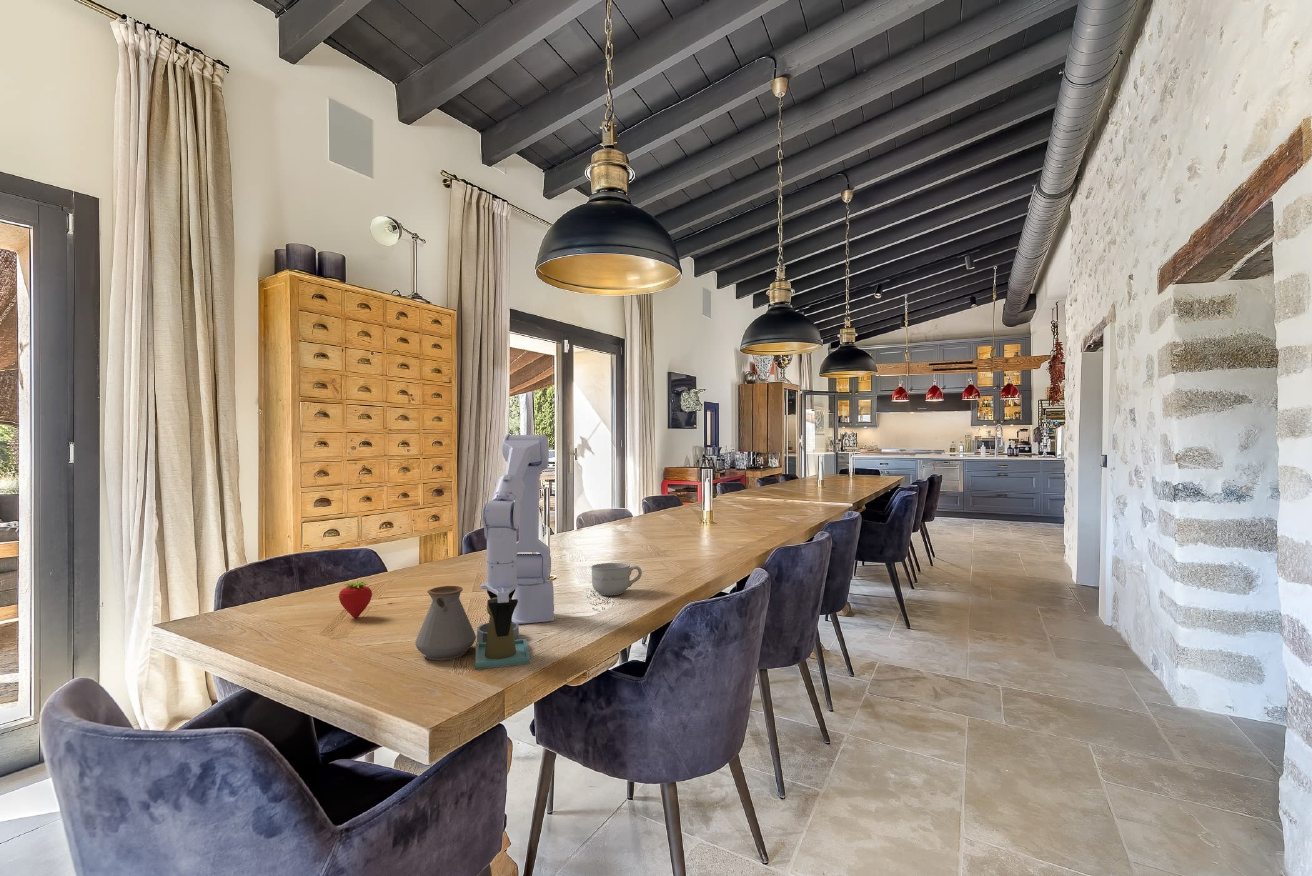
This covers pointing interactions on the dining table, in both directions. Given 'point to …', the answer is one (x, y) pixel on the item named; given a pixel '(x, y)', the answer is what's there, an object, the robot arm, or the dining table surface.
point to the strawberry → (355, 598)
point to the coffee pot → (445, 626)
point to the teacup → (613, 577)
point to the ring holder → (483, 631)
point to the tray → (517, 659)
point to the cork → (499, 641)
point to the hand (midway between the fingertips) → (502, 629)
